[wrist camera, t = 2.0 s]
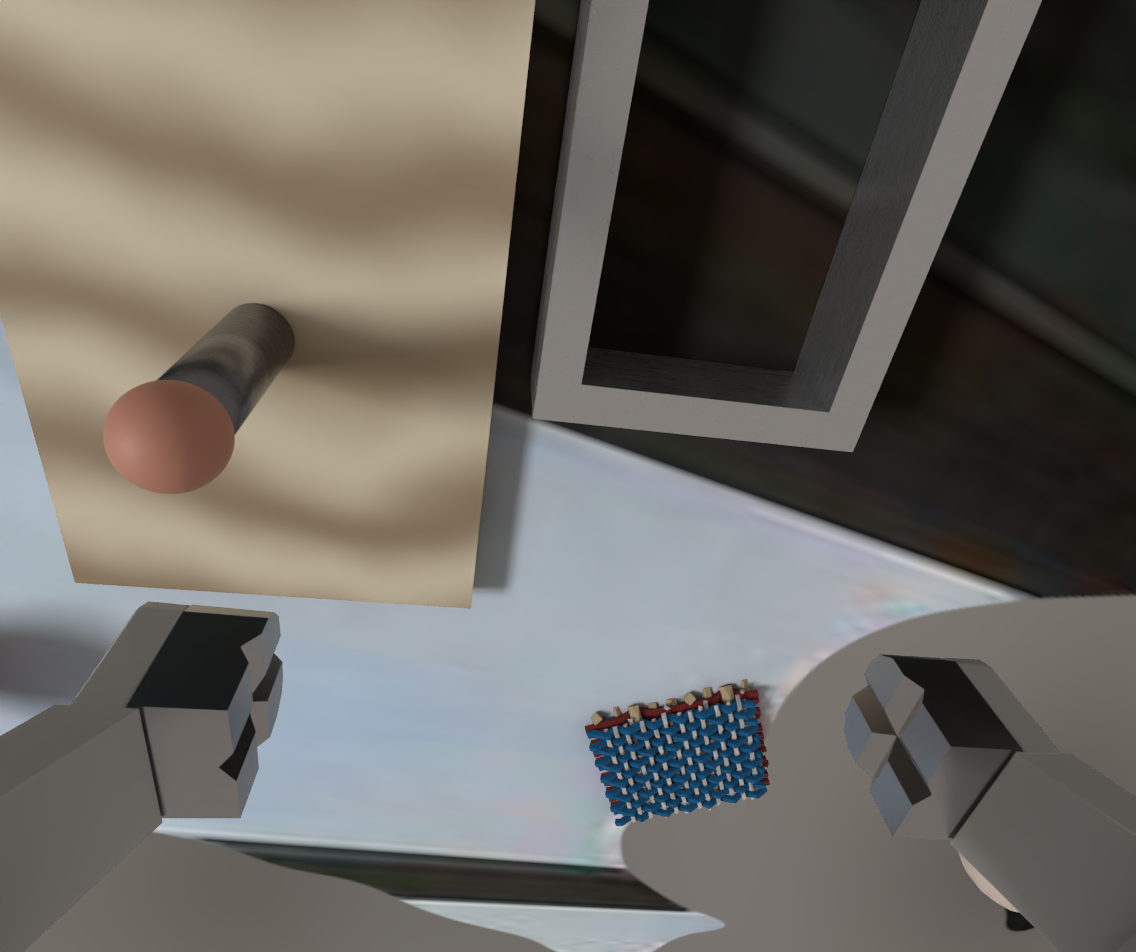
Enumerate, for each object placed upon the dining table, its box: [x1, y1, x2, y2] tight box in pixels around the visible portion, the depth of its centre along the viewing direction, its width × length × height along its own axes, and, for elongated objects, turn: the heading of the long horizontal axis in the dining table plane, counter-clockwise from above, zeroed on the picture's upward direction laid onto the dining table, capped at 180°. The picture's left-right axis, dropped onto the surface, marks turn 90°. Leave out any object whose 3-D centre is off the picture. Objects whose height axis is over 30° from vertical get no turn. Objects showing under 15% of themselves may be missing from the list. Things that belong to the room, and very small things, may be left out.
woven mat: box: [585, 679, 770, 826], centre depth 43 cm, size 10×11×2 cm
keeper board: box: [0, 0, 535, 608], centre depth 23 cm, size 26×18×11 cm
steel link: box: [530, 0, 1042, 452], centre depth 24 cm, size 18×13×4 cm
